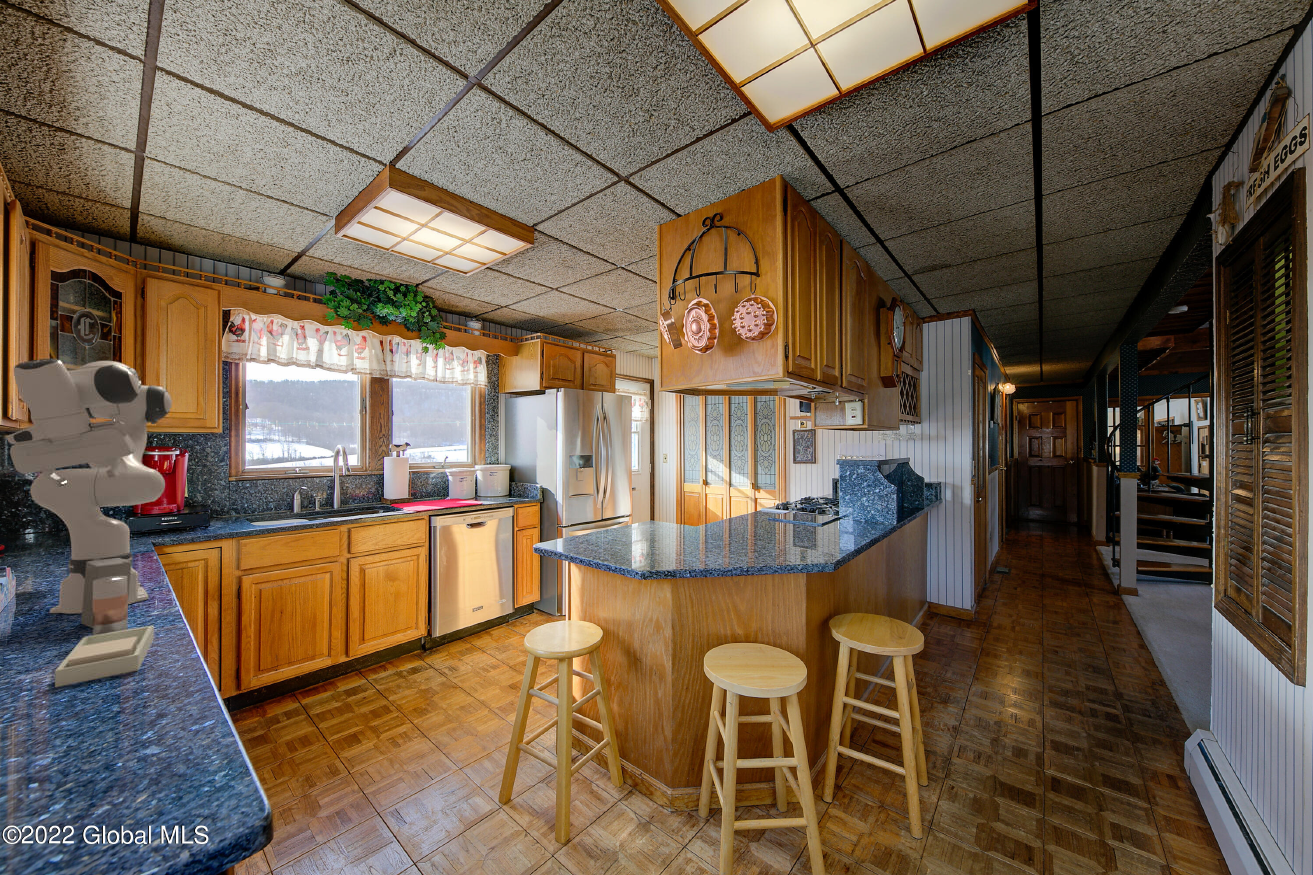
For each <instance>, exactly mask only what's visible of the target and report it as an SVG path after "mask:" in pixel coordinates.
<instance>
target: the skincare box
mask: <svg viewBox="0 0 1313 875" xmlns="http://www.w3.org/2000/svg"><path fill="white" fill-rule="evenodd" d="M131 567H132V564H131V562H129V561H127V559H121V558H112V559H103V560H93V561H87V562H86V572H85V584H84V595H83V605H82V613H81V616H80V618H81V619H80V623H81V624H82V625H84V626H87V627H89V628H91V629H93V581H94V580H96V579H100V578H105V577H112V576H127V593H128V598H129V584H130V573H131Z"/></svg>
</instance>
